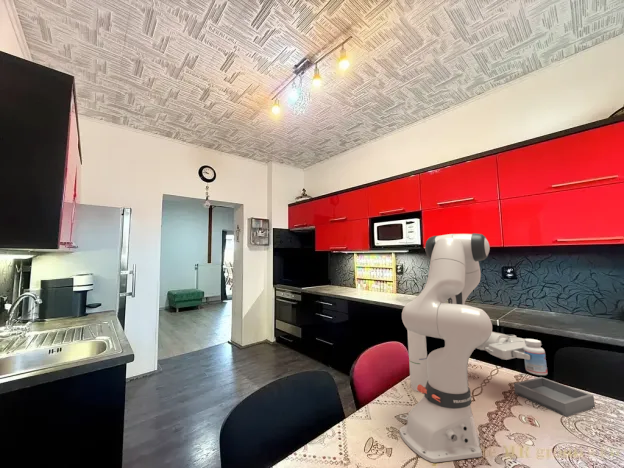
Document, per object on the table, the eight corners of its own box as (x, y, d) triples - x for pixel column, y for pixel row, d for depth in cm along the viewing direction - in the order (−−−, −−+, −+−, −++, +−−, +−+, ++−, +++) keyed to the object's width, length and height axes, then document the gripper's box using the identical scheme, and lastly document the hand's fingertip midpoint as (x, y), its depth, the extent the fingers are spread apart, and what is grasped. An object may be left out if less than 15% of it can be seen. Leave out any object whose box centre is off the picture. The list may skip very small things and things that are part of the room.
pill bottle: (552, 376, 89) (548, 343, 91) (532, 375, 90) (528, 342, 92) (540, 369, 95) (536, 338, 97) (521, 368, 96) (518, 337, 98)
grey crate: (566, 416, 85) (564, 404, 85) (515, 394, 100) (514, 383, 100) (595, 407, 90) (593, 395, 90) (542, 387, 105) (540, 376, 105)
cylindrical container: (432, 392, 102) (427, 327, 105) (414, 392, 102) (410, 328, 105) (424, 383, 109) (420, 323, 112) (408, 384, 109) (404, 324, 112)
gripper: (480, 339, 103) (516, 350, 90) (515, 334, 109) (554, 343, 96) (481, 355, 102) (518, 369, 89) (516, 349, 109) (556, 361, 96)
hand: (537, 356), depth 93 cm, fingers closed on pill bottle, 6 cm apart
